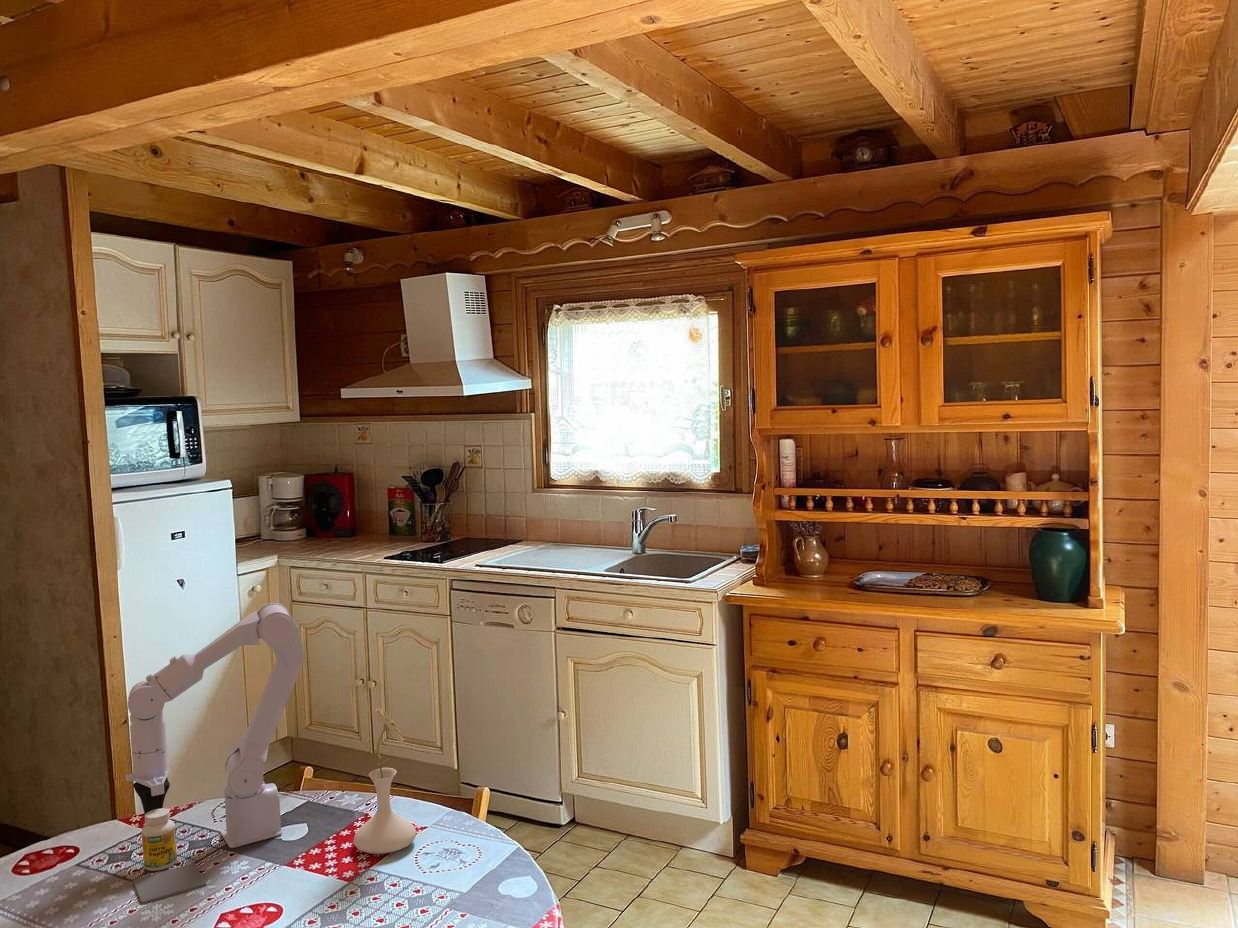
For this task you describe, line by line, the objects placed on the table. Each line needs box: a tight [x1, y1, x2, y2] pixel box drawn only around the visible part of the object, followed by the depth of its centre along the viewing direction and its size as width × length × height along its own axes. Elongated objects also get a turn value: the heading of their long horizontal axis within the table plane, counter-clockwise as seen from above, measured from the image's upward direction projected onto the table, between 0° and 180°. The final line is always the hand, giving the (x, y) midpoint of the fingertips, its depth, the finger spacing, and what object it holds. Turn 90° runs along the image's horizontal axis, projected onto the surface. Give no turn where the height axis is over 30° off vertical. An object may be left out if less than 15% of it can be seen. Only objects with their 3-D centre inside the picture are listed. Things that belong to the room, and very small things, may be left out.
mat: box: [132, 862, 207, 905], centre depth 166 cm, size 10×9×1 cm
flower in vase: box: [352, 707, 417, 855], centre depth 178 cm, size 13×11×25 cm
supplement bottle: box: [141, 807, 178, 872], centre depth 173 cm, size 5×5×10 cm
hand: (153, 820), depth 176 cm, fingers closed
